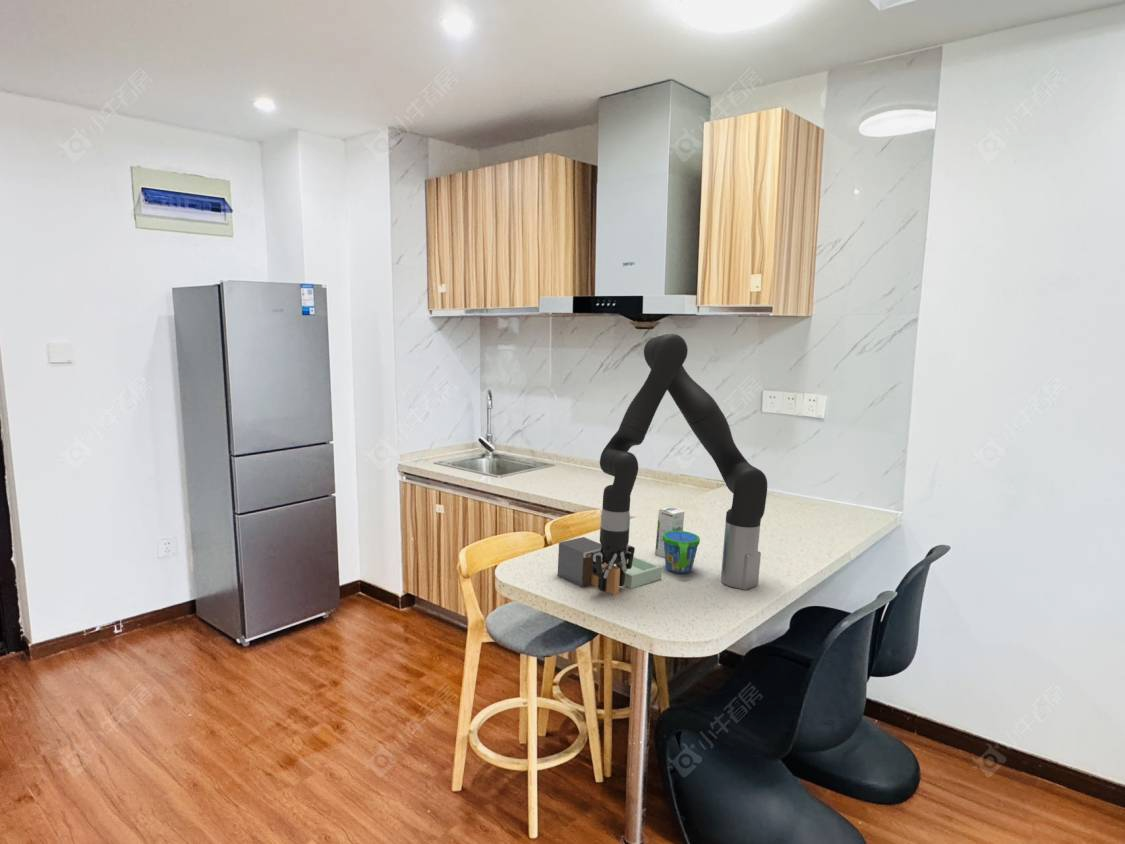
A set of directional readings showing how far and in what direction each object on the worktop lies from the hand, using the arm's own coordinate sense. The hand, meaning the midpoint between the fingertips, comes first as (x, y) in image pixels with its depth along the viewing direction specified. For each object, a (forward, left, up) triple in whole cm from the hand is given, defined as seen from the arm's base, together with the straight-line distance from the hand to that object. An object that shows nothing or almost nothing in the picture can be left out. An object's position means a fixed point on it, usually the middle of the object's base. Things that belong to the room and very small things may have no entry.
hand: (611, 587), depth 175 cm
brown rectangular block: (+3, 0, -1) cm, 3 cm away
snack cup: (0, -28, -1) cm, 28 cm away
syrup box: (+10, -35, -1) cm, 37 cm away
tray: (+7, -12, -1) cm, 14 cm away
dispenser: (+11, 0, -1) cm, 12 cm away
